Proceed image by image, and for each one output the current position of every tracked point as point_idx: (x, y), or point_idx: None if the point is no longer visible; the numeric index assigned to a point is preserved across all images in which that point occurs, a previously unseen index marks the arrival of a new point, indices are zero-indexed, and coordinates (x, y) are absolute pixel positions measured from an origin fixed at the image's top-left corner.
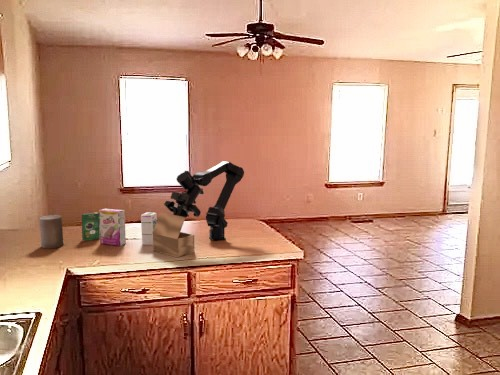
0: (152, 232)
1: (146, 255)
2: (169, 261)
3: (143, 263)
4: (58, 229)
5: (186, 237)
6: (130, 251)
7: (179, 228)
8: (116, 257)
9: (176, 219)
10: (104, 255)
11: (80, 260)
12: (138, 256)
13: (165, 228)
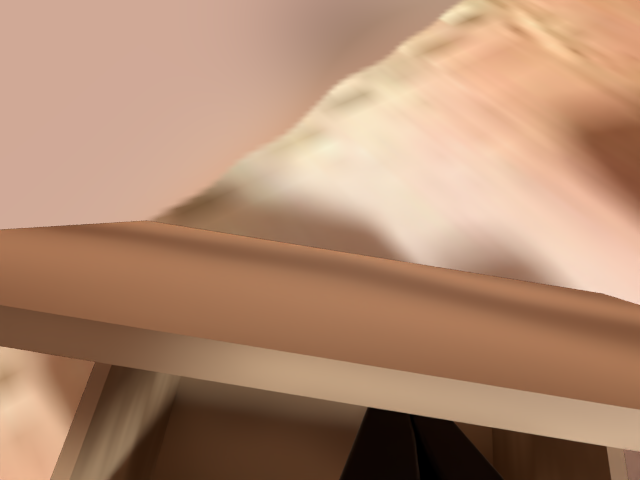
0: (609, 296)
1: (436, 229)
2: (201, 200)
3: (322, 108)
4: None
5: (88, 393)
6: (606, 248)
7: (83, 231)
8: (543, 121)
9: (188, 290)
10: (630, 119)
11: (623, 25)
12: (460, 189)
13: (422, 277)
